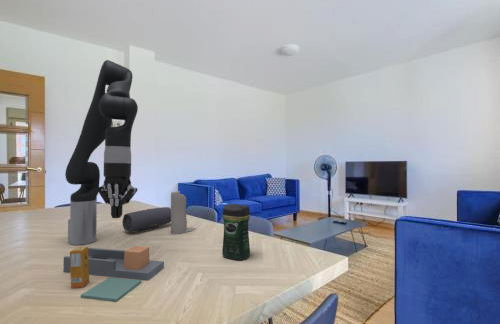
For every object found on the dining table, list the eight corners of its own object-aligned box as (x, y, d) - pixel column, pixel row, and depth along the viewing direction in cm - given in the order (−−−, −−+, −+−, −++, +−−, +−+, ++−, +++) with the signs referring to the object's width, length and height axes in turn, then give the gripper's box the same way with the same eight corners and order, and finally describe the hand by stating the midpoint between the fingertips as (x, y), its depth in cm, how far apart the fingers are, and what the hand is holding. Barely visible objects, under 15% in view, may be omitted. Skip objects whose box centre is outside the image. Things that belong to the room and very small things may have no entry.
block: (124, 268, 76) (124, 251, 76) (134, 261, 81) (134, 246, 81) (139, 269, 75) (139, 252, 75) (149, 263, 80) (149, 247, 80)
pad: (80, 297, 63) (80, 295, 63) (109, 279, 73) (109, 277, 73) (116, 301, 62) (116, 299, 62) (141, 282, 72) (141, 280, 72)
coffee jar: (253, 255, 93) (253, 204, 93) (242, 262, 86) (242, 207, 86) (230, 250, 98) (231, 201, 98) (218, 257, 91) (219, 204, 91)
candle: (199, 228, 130) (199, 189, 130) (177, 235, 118) (178, 191, 118) (188, 226, 134) (189, 188, 134) (167, 232, 122) (167, 190, 122)
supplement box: (76, 282, 71) (76, 246, 71) (89, 282, 71) (89, 246, 71) (68, 288, 68) (69, 250, 68) (82, 288, 68) (83, 250, 68)
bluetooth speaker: (162, 223, 140) (163, 205, 140) (173, 226, 135) (174, 207, 135) (121, 232, 122) (121, 211, 122) (132, 236, 116) (132, 213, 116)
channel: (63, 272, 78) (63, 257, 78) (87, 260, 87) (87, 247, 87) (147, 280, 73) (147, 264, 73) (164, 267, 82) (164, 253, 82)
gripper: (89, 161, 77) (88, 219, 77) (128, 162, 74) (127, 222, 74) (107, 161, 84) (106, 214, 84) (144, 162, 82) (143, 216, 82)
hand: (116, 217), depth 79 cm, fingers closed
